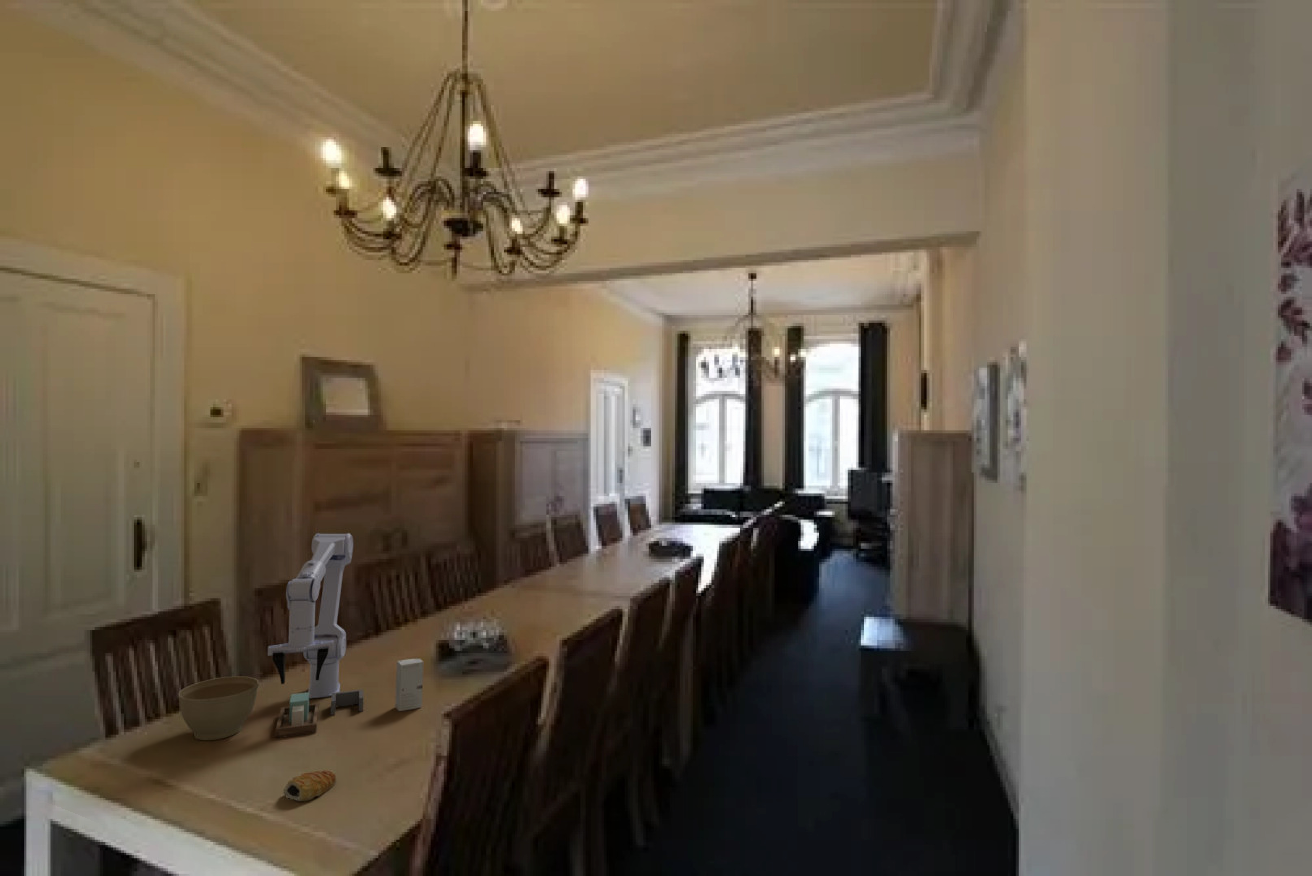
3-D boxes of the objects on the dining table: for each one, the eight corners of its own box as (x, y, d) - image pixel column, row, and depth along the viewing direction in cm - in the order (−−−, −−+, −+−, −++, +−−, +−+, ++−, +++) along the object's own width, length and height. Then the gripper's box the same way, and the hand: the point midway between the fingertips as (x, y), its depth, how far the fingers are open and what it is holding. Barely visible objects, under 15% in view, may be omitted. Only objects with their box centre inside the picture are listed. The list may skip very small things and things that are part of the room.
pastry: (321, 777, 142) (322, 759, 142) (344, 785, 139) (345, 766, 139) (279, 797, 134) (280, 778, 134) (303, 806, 131) (303, 786, 131)
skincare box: (398, 712, 177) (400, 665, 177) (394, 706, 181) (395, 660, 181) (423, 707, 181) (424, 661, 181) (418, 702, 184) (419, 657, 185)
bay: (331, 706, 180) (331, 692, 180) (362, 702, 183) (363, 689, 183) (330, 715, 174) (331, 701, 174) (363, 711, 177) (363, 697, 177)
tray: (281, 715, 174) (281, 707, 174) (318, 710, 177) (319, 703, 177) (275, 737, 160) (275, 729, 160) (316, 732, 164) (316, 724, 164)
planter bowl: (247, 714, 174) (248, 671, 174) (265, 733, 162) (267, 688, 163) (170, 731, 163) (172, 685, 163) (184, 754, 151) (186, 704, 151)
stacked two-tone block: (291, 713, 173) (291, 694, 173) (308, 711, 175) (309, 692, 175) (287, 728, 164) (288, 708, 164) (306, 726, 166) (306, 705, 166)
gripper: (267, 633, 164) (265, 689, 164) (333, 627, 170) (331, 682, 170) (270, 625, 171) (268, 680, 171) (334, 621, 177) (332, 673, 176)
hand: (300, 680), depth 171 cm, fingers open, 7 cm apart
